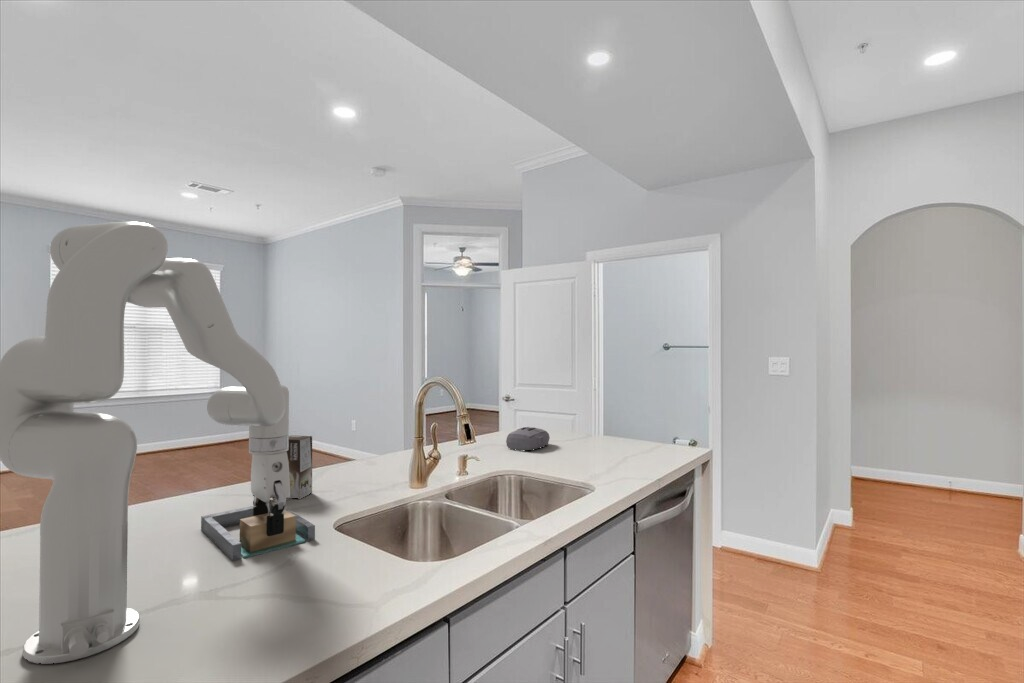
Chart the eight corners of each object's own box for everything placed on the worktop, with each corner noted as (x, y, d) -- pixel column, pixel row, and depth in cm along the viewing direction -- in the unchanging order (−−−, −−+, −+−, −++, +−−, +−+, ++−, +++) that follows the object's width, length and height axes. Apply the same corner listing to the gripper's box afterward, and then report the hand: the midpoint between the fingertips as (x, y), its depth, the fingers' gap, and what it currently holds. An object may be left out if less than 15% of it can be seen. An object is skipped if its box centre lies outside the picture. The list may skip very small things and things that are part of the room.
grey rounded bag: (533, 453, 200) (556, 445, 217) (533, 432, 200) (556, 425, 217) (500, 449, 207) (525, 441, 224) (500, 428, 207) (525, 422, 225)
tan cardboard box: (295, 539, 108) (295, 515, 109) (250, 551, 102) (250, 526, 102) (283, 532, 113) (283, 509, 113) (239, 543, 106) (239, 519, 106)
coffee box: (313, 493, 144) (314, 435, 144) (300, 499, 138) (300, 439, 138) (283, 491, 146) (284, 434, 146) (269, 497, 139) (270, 438, 140)
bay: (314, 539, 110) (315, 525, 110) (232, 561, 99) (232, 545, 99) (275, 513, 126) (275, 501, 126) (201, 529, 115) (201, 516, 115)
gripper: (303, 447, 104) (302, 536, 104) (272, 436, 116) (271, 515, 116) (264, 453, 99) (263, 545, 98) (236, 440, 111) (235, 523, 111)
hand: (268, 528), depth 107 cm, fingers open, 7 cm apart
